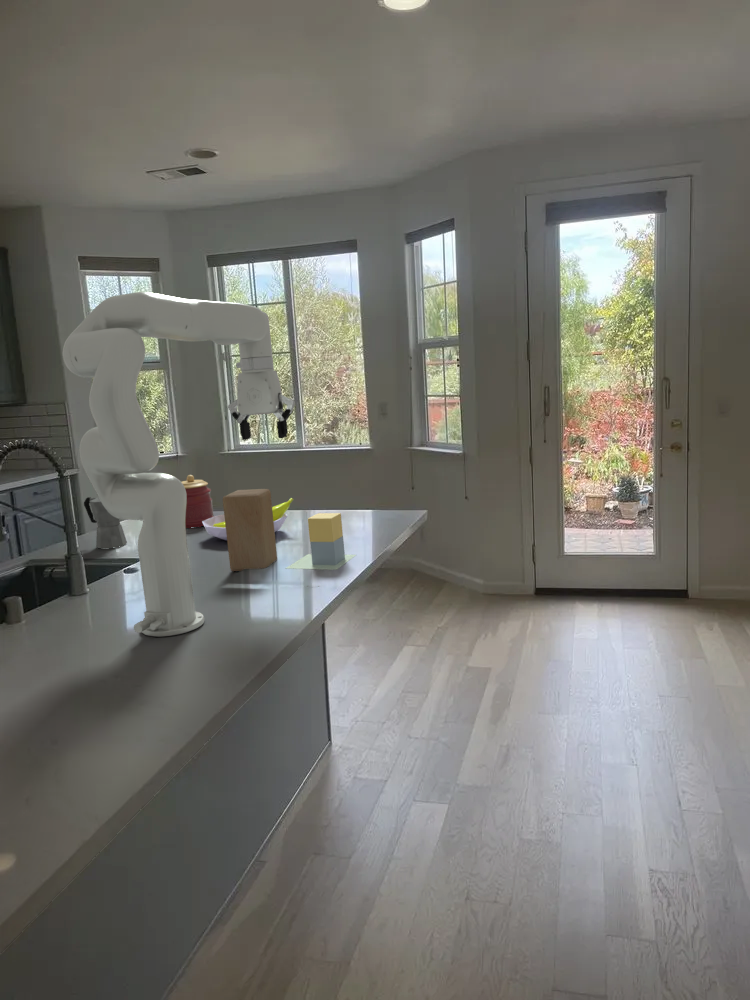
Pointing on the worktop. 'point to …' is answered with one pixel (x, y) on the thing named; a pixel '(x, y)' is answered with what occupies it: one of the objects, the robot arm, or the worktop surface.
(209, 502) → the canister
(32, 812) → the worktop surface
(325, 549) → the slate brick
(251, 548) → the block
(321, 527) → the ochre brick
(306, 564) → the plate
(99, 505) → the coffeepot
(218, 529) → the fruit bowl
